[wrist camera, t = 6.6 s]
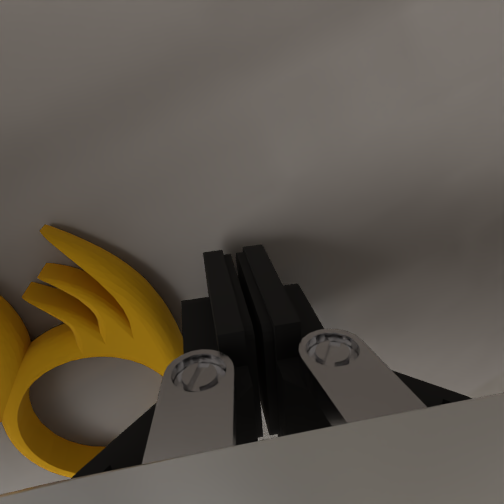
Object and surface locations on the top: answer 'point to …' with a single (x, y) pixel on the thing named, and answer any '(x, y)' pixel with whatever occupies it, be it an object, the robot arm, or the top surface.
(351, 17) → the top surface
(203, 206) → the top surface
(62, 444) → the novelty glasses
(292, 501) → the robot arm
